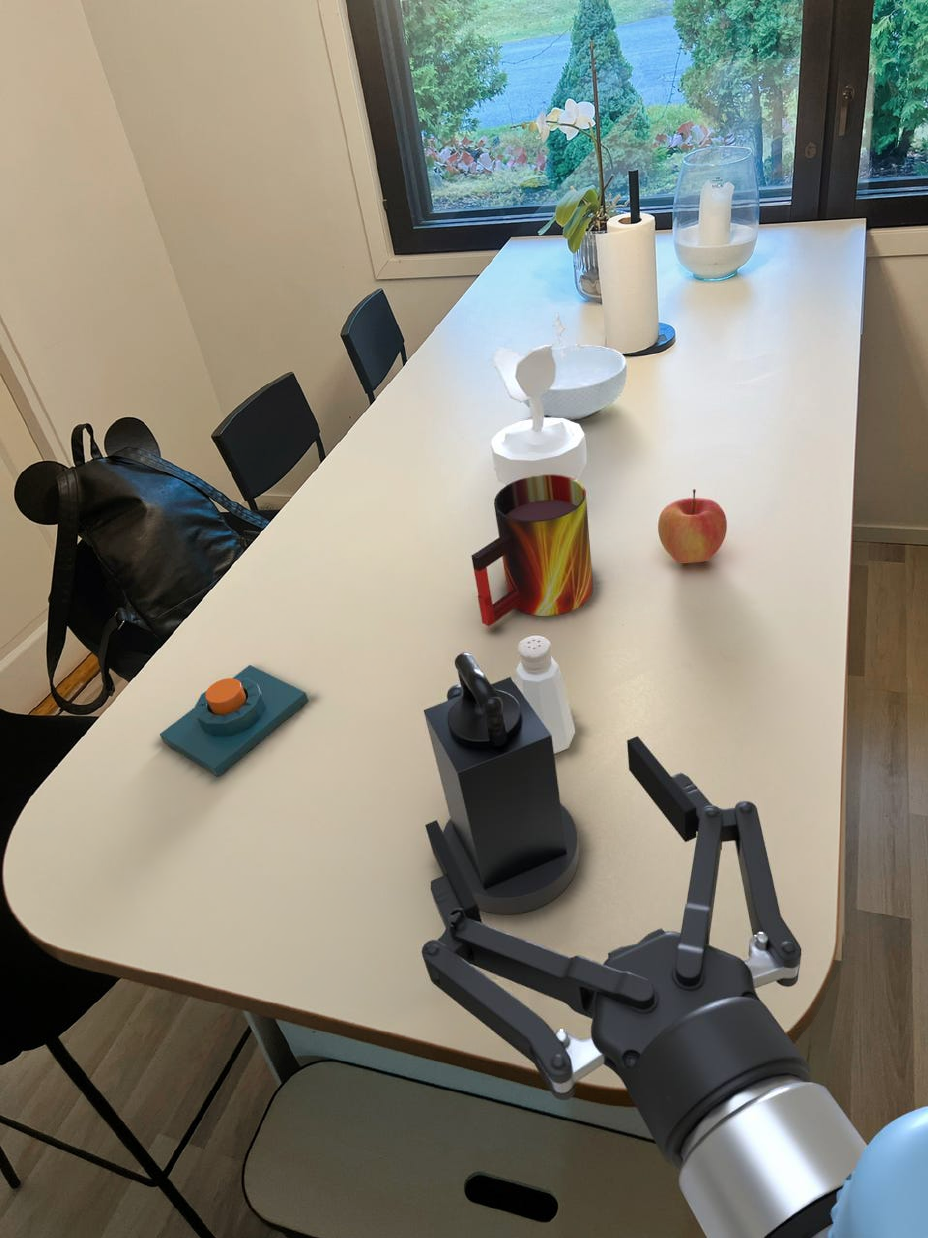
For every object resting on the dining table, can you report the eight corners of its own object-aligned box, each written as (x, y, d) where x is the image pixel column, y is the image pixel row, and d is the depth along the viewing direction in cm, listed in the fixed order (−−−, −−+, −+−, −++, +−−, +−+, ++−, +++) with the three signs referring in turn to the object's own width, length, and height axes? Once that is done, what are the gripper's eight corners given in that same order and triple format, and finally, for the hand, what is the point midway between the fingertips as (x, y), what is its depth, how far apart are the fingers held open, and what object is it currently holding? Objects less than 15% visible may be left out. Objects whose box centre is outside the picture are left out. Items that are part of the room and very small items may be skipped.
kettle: (567, 853, 67) (545, 687, 57) (484, 889, 66) (446, 726, 55) (509, 761, 76) (481, 602, 65) (435, 791, 74) (394, 633, 64)
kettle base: (491, 941, 65) (487, 925, 64) (420, 845, 73) (415, 830, 72) (607, 865, 68) (606, 849, 67) (528, 782, 76) (525, 766, 75)
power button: (226, 720, 85) (220, 707, 84) (203, 707, 87) (197, 695, 86) (253, 698, 87) (248, 685, 86) (231, 686, 89) (225, 673, 88)
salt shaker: (516, 718, 83) (501, 628, 76) (573, 712, 82) (563, 621, 76) (518, 760, 79) (503, 668, 72) (578, 754, 78) (568, 661, 71)
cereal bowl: (638, 423, 127) (636, 377, 123) (525, 441, 128) (519, 396, 124) (617, 378, 141) (615, 335, 136) (515, 395, 142) (509, 353, 137)
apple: (656, 576, 97) (655, 515, 92) (661, 540, 103) (659, 480, 98) (725, 577, 95) (727, 514, 90) (726, 540, 101) (728, 479, 96)
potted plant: (607, 511, 110) (594, 312, 94) (523, 540, 107) (497, 342, 92) (561, 472, 119) (543, 286, 104) (483, 498, 117) (453, 312, 102)
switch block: (218, 777, 83) (207, 755, 81) (163, 742, 88) (152, 721, 86) (308, 700, 90) (301, 679, 88) (253, 672, 95) (244, 651, 93)
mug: (482, 634, 94) (465, 541, 86) (522, 561, 103) (510, 472, 96) (569, 645, 90) (559, 548, 83) (602, 568, 100) (596, 476, 93)
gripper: (494, 1298, 37) (360, 911, 54) (963, 1043, 42) (709, 760, 59) (466, 1235, 33) (330, 834, 49) (995, 957, 38) (710, 677, 54)
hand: (536, 793), depth 54 cm, fingers open, 13 cm apart
